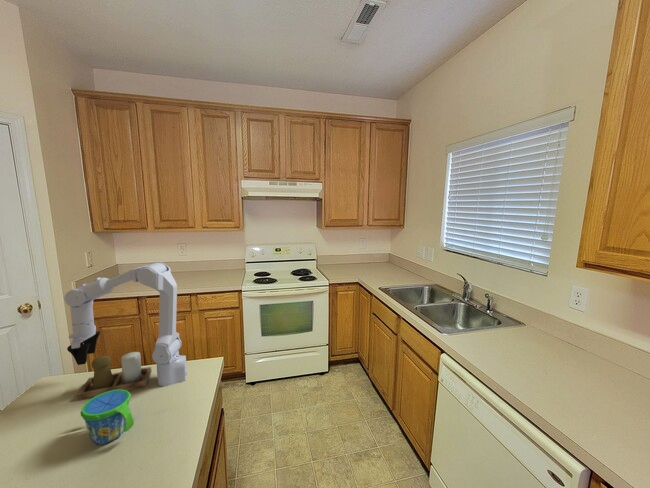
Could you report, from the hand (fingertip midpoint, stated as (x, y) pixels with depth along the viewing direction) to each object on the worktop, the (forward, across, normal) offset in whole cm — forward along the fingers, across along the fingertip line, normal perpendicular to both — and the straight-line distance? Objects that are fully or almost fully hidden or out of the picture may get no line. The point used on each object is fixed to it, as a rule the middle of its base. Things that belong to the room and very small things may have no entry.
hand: (86, 358), depth 96 cm
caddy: (+10, +4, +10) cm, 15 cm away
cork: (+10, +4, +6) cm, 12 cm away
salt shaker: (+10, +4, +14) cm, 18 cm away
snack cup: (+11, +29, +14) cm, 34 cm away
